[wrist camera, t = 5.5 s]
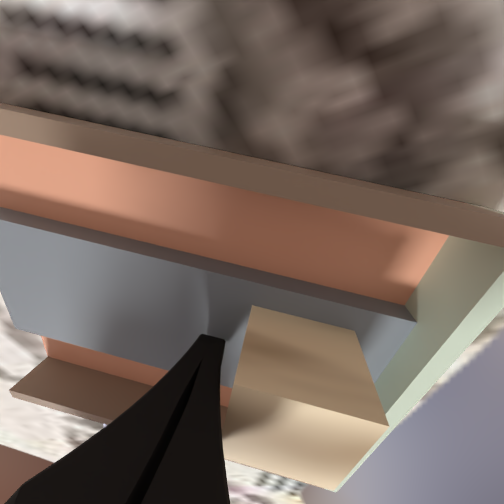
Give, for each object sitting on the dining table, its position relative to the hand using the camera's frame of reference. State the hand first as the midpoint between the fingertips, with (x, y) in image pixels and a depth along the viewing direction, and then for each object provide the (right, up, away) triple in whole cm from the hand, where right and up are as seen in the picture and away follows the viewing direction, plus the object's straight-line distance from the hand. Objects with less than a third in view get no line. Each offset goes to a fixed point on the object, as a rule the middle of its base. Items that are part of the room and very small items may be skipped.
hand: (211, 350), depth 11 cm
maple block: (+4, 0, 0) cm, 4 cm away
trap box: (-2, +2, +2) cm, 3 cm away
